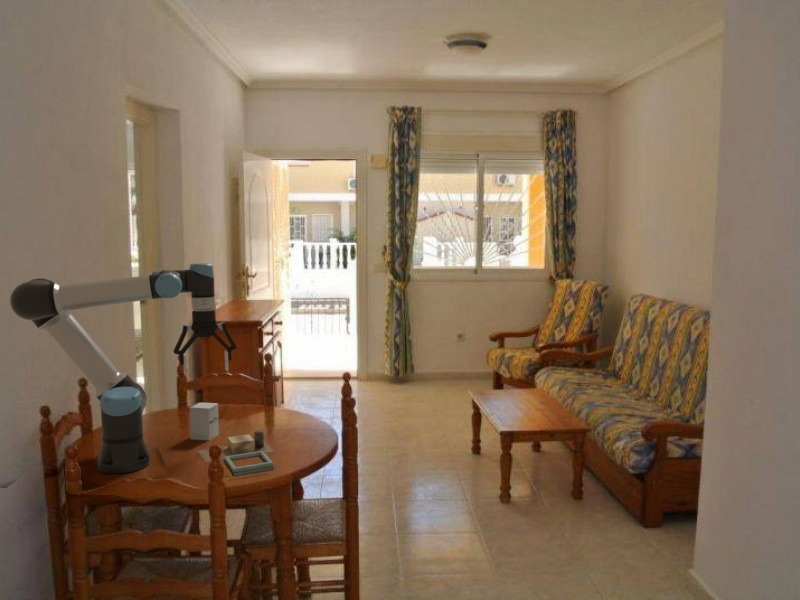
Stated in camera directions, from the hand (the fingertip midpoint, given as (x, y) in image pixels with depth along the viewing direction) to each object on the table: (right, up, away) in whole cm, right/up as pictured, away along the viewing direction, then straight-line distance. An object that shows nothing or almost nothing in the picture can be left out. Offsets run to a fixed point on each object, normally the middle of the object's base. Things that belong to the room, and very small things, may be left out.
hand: (206, 372), depth 225 cm
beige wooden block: (+13, -24, -7) cm, 29 cm away
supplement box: (-2, -25, +6) cm, 26 cm away
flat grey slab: (+12, -26, -9) cm, 30 cm away
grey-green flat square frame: (+19, -27, -19) cm, 38 cm away
